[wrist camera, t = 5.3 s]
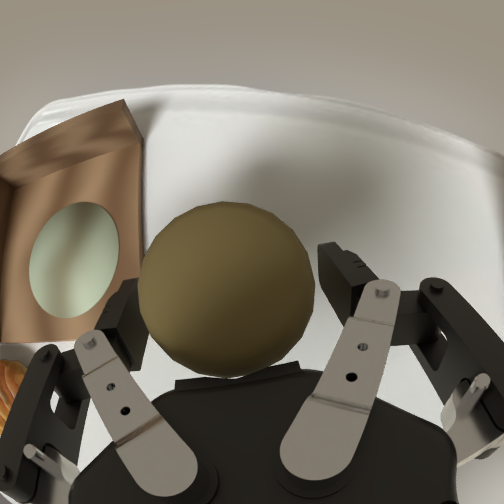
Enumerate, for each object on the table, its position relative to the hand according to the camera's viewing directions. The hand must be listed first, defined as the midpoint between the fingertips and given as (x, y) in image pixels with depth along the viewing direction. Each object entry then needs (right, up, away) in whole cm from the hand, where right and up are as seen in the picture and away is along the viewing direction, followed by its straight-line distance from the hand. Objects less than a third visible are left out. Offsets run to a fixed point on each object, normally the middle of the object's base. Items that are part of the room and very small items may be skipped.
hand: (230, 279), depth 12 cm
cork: (0, -3, +5) cm, 6 cm away
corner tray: (-15, +2, +7) cm, 16 cm away
